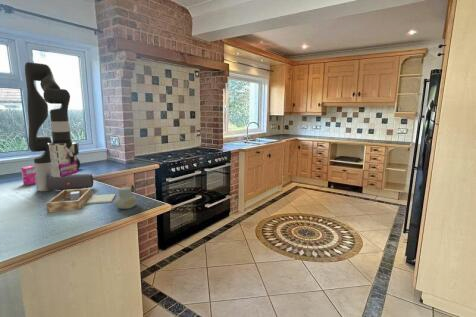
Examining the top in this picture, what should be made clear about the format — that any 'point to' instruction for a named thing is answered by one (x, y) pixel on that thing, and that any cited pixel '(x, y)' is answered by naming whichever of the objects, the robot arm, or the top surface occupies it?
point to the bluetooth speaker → (70, 182)
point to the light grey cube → (75, 195)
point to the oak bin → (58, 205)
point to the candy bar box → (62, 160)
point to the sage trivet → (101, 198)
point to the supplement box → (28, 175)
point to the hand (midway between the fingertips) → (64, 163)
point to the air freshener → (125, 198)
